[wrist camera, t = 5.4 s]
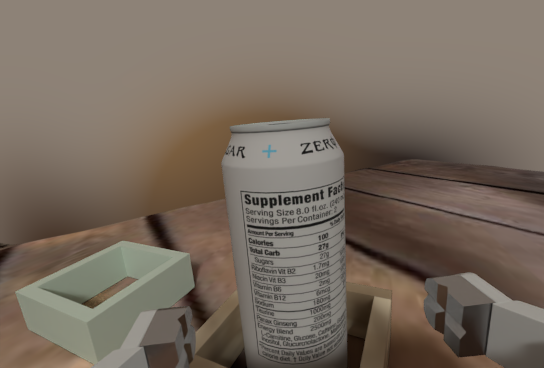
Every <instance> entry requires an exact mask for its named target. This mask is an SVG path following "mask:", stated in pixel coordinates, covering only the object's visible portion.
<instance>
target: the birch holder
mask: <svg viewBox="0 0 544 368" xmlns="http://www.w3.org/2000/svg"><path fill="white" fill-rule="evenodd" d="M346 308H347V334H349V335H353V336H356V337H360V338H364V339H365V344H364V349H363V354H362V359H361V364H360V368H388V358H389V348H390V338H391V310H392V290H387V289H382V288H377V287H371V286H366V285H361V284H356V283H350V282H346ZM195 335H196V348H195V355H194V360H193V361H192V362H191V363H190V364H189V368H231V366H232V365H233V363H234V362H235V360H236V359H237V357H238V356H239V355H240V353H241V352H242V350H243V349H244V340H243V332H242V324H241V316H240V308H239V300H238V292H237V290H236V291H235V292H234V293H233V294H232V295H231V296H230V297H229V298H228V299H227V300H226V301H225V302H224V303H223V304H222V305H221V307H220V308H219V309H218V310H217V311H216V312H215V313H214V314H213V315H212V316H211V317H210V318H209V319H208V320H207V321H206V322H205V323H204V324H203V326H202V327H201V328H200V329H199V330H198V331H197V332H196V333H195Z"/></svg>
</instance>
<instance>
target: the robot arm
mask: <svg viewBox="0 0 544 368" xmlns="http://www.w3.org/2000/svg"><path fill="white" fill-rule="evenodd" d="M425 290H426V291H427V293H428V296H427V297H426V298H425V300H424V311H425V315H426V318H427V320H428V321H429V323H430V325H431V326H432V327H433V328H434V329H435V330H436V331H438V332H440V333H442V334H444V341H445V342H446V344H447V345H448V346H449V347H450V348H451V349H452V350H453V352H454V353H455V354H456V355H457V356H458V357H468V356H478V355H486V357H488V358H490V359H491V360H493V361H495V362H496V363H498V364H499V365H501V366H503V367H504V368H544V309H542V308H539V307H536V306H533V305H530V304H527V303H524V302H521V301H513V300H511V299H510V298H508V297H507V296H506V295H504V294H503V293H501V292H500V291H499V290H497V289H496V288H494V287H493V286H491V285H490V284H489V283H487V282H486V281H484V280H483V279H481V278H480V277H479V276H477V275H476V274H474V273H470V272H468V273H461V274H455V275H450V276H442V277H434V278H427V280H426V282H425ZM191 320H192V313H191V308H190V307H189V306H183V307H172V308H162V309H153V310H144V311H142V312H141V313H140V314H139V316H138V318H137V319H136V321H135V323H134V325H133V326H132V328H131V330H130V332H129V333H128V335H127V337H126V339H125V340H124V342H123V344H122V346H121V347H120V349H118V350H114V351H112V352H111V353H110V354H108V355H107V356H106V357H104V358H103V359H102V360H100V361H99V362H98V363H96V364H95V365H94V366H92V367H91V368H189V364H190V363H191V362H192V361H193V360H194V355H195V348H196V335H195V329H194V327H193V326H192V325H190V323H191Z"/></svg>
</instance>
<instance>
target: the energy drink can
mask: <svg viewBox="0 0 544 368" xmlns="http://www.w3.org/2000/svg"><path fill="white" fill-rule="evenodd" d="M329 124H330V119H329V118H323V119H303V120H288V121H276V122H264V123H254V124H244V125H236V126H230V131H231V133H232V137H231V140H230V143H229V145H228V148H227V150H226V153H225V155H224V157H223V160H222V171H223V179H224V187H225V195H226V203H227V211H228V219H229V227H230V235H231V243H232V252H233V260H234V268H235V276H236V284H237V292H238V300H239V308H240V316H241V324H242V332H243V340H244V348H245V356H246V364H247V368H347V308H346V249H345V190H344V154H343V152H342V150H341V149H340V147H339V145H338V143H337V142H336V140H335V138H334V137H333V135H332V133H331V131H330V129H329Z"/></svg>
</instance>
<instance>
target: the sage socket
mask: <svg viewBox="0 0 544 368" xmlns="http://www.w3.org/2000/svg"><path fill="white" fill-rule="evenodd" d="M127 276H129V277H132V278H136V279H139V280H137V281H135V282H134V283H132V284H131V285H129V286H128V287H126V288H125V289H123V290H121V291H120V292H118V293H117V294H115V295H114V296H112V297H111V298H109V299H107V300H106V301H104V302H103V303H101V304H100V305H98V306H97V307H95V308H93V309H92V308H89V307H87V306H84V305H81V304H82V303H84V302H86V301H87V300H89V299H91V298H92V297H94V296H96V295H97V294H99V293H100V292H102V291H104V290H105V289H107V288H109V287H110V286H112V285H114V284H115V283H117V282H119V281H120V280H122V279H124V278H125V277H127ZM194 287H195V285H194V279H193V273H192V267H191V261H190V255H189V253H183V252H178V251H173V250H168V249H163V248H158V247H153V246H148V245H142V244H137V243H132V242H127V241H121V242H119V243H117V244H115V245H113V246H111V247H108V248H106V249H104V250H102V251H100V252H98V253H96V254H94V255H92V256H90V257H87V258H85V259H83V260H81V261H79V262H77V263H75V264H73V265H71V266H68V267H66V268H64V269H62V270H60V271H58V272H56V273H54V274H52V275H49V276H47V277H45V278H43V279H41V280H39V281H37V282H35V283H33V284H30V285H28V286H26V287H24V288H22V289H20V290H18V291H16V292H15V293H16V296H17V298H18V301H19V304H20V307H21V310H22V313H23V316H24V319H25V321H26V324H27V327H28V329H29V330H31V331H33V332H34V333H36V334H38V335H40V336H42V337H44V338H46V339H48V340H49V341H51V342H53V343H55V344H57V345H59V346H61V347H63V348H64V349H66V350H68V351H70V352H72V353H74V354H76V355H78V356H79V357H81V358H83V359H85V360H87V361H89V362H91V363H93V364H94V365H95V364H96V363H98V362H99V361H100V360H102V359H103V358H104V357H106V356H107V355H108V354H110V353H111V352H112V351H114V350H118V349H120V347H121V346H122V344H123V342H124V340H125V339H126V337H127V335H128V333H129V332H130V330H131V328H132V326H133V325H134V323H135V321H136V319H137V318H138V316H139V314H140V313H141V312H142V311H144V310H153V309H162V308H170V307H171V306H173V305H174V304H175V303H176V302H177V301H178V300H180V299H181V298H182V297H183V296H184V295H186V294H187V293H188V292H189V291H190V290H192V289H193V288H194Z"/></svg>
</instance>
